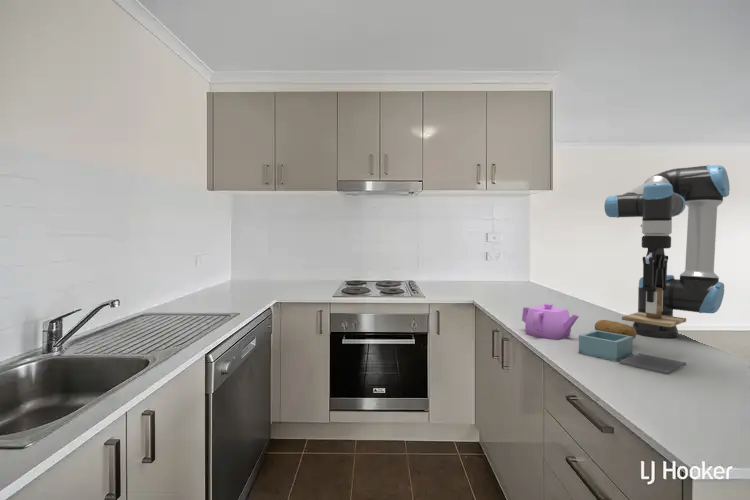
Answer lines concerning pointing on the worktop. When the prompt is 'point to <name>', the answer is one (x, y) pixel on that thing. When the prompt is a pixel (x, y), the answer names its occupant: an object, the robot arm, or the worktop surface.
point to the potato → (615, 328)
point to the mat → (653, 363)
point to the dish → (606, 345)
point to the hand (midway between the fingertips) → (654, 311)
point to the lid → (655, 315)
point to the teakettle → (548, 321)
